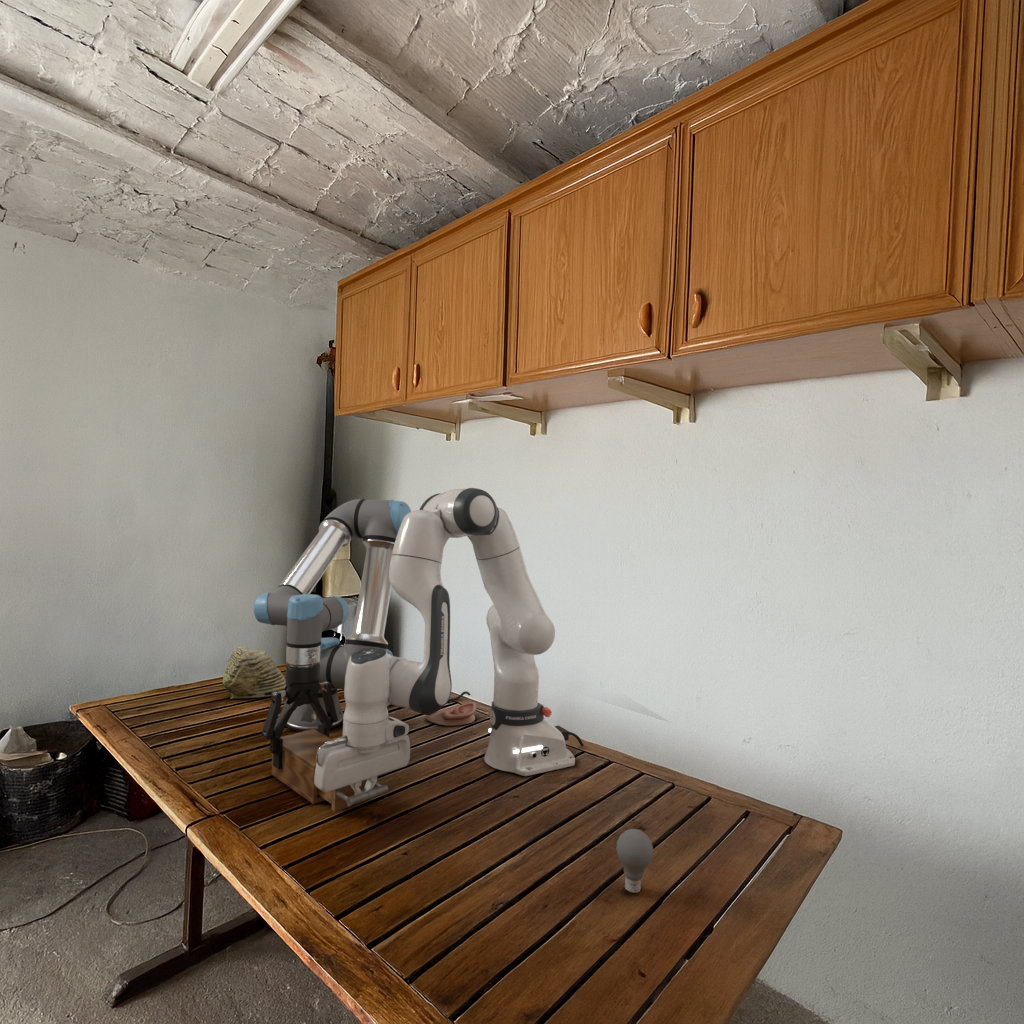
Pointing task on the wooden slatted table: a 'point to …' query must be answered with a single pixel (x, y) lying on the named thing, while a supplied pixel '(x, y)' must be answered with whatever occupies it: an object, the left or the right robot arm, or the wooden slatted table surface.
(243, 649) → the fossil
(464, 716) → the anatomical model
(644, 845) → the light bulb
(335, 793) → the drawer
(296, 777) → the cabinet
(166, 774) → the wooden slatted table surface
